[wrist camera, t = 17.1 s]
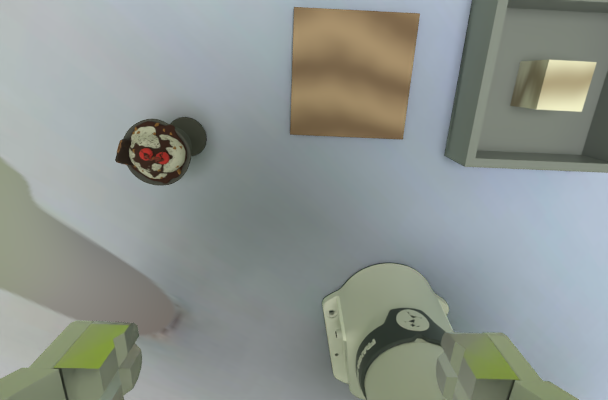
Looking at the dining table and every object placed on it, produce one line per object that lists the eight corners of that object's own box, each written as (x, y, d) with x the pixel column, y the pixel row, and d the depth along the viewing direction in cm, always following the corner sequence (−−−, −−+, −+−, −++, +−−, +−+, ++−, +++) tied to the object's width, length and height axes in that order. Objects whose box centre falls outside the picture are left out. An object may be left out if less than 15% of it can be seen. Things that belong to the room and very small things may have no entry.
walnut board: (400, 137, 45) (402, 139, 44) (290, 133, 44) (290, 134, 43) (417, 15, 40) (419, 13, 39) (294, 8, 40) (294, 7, 39)
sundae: (224, 133, 44) (188, 160, 30) (193, 172, 46) (146, 215, 32) (180, 98, 43) (121, 108, 29) (150, 139, 45) (80, 169, 30)
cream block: (550, 107, 43) (581, 111, 38) (510, 105, 43) (536, 109, 38) (562, 63, 41) (596, 62, 36) (520, 61, 41) (549, 59, 36)
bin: (580, 161, 46) (619, 173, 40) (444, 155, 46) (464, 166, 40) (629, 6, 40) (683, -6, 34) (472, -3, 40) (501, -16, 34)
